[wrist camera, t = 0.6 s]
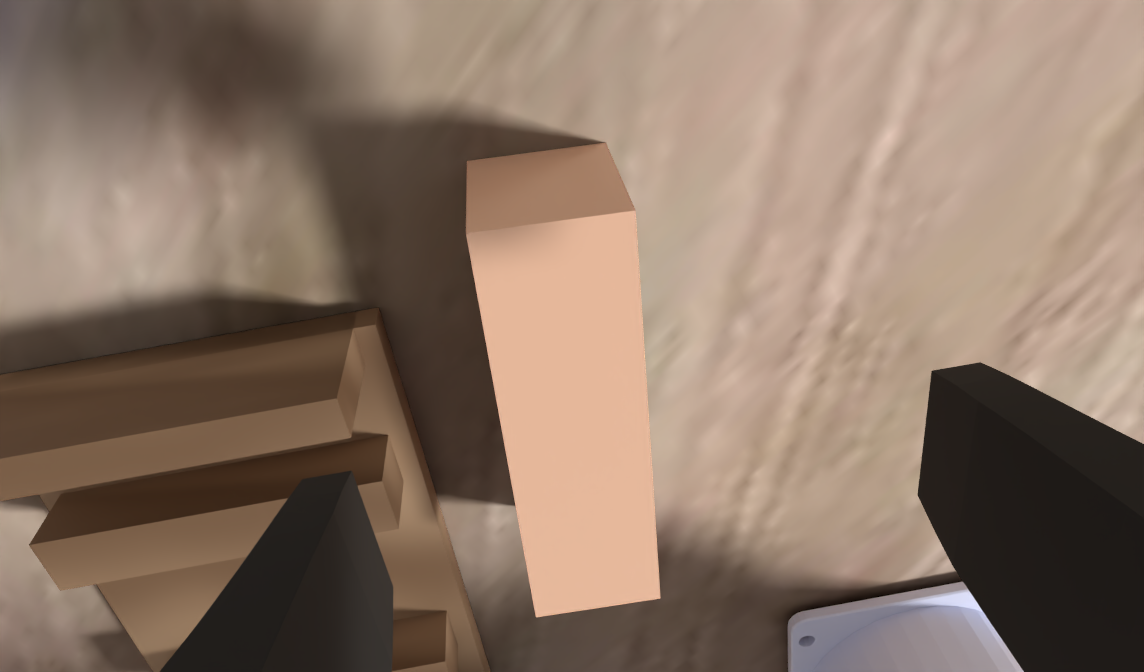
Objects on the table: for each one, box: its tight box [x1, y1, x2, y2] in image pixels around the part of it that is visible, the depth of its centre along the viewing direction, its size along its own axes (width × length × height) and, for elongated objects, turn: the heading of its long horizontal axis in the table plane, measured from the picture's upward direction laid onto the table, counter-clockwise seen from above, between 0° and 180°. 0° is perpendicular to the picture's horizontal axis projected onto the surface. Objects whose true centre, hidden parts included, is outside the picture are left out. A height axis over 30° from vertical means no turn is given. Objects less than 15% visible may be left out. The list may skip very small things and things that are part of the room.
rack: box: [0, 307, 491, 672], centre depth 21 cm, size 14×9×4 cm, turn 8°
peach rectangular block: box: [466, 143, 661, 617], centre depth 19 cm, size 10×3×4 cm, turn 6°
